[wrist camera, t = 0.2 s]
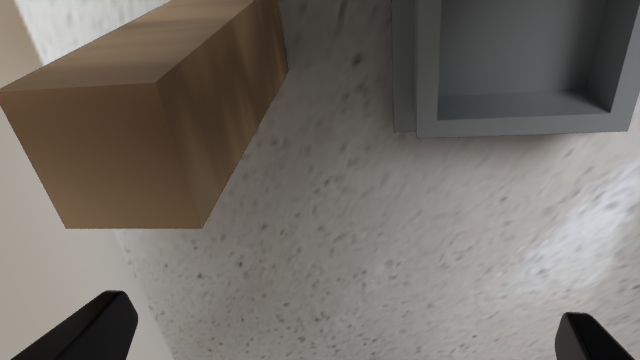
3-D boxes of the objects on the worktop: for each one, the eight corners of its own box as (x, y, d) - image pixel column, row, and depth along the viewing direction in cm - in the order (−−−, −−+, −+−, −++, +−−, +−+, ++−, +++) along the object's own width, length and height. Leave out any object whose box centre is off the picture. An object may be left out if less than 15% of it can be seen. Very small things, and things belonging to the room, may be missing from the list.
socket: (611, 114, 21) (647, 151, 18) (393, 123, 22) (394, 158, 19) (682, -152, 15) (751, -161, 12) (389, -114, 17) (389, -115, 14)
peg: (288, 71, 22) (202, 228, 12) (210, 76, 22) (66, 228, 12) (275, -18, 19) (154, 82, 9) (189, -9, 20) (-7, 92, 10)
